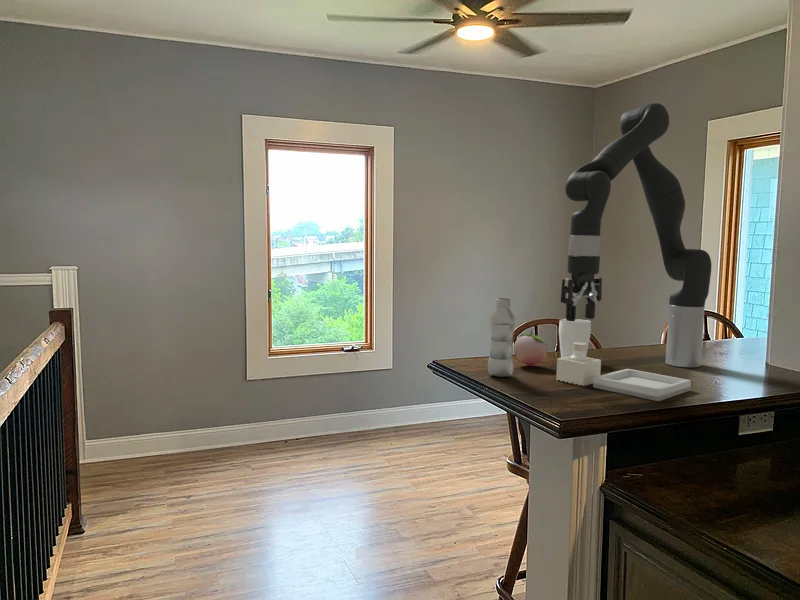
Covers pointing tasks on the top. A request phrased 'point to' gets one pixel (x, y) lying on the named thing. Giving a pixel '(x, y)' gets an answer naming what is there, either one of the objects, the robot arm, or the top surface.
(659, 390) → the tray
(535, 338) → the decorative fruit
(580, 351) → the pepper shaker
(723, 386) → the top surface
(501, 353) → the plastic bottle
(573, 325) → the cup
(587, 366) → the holder
